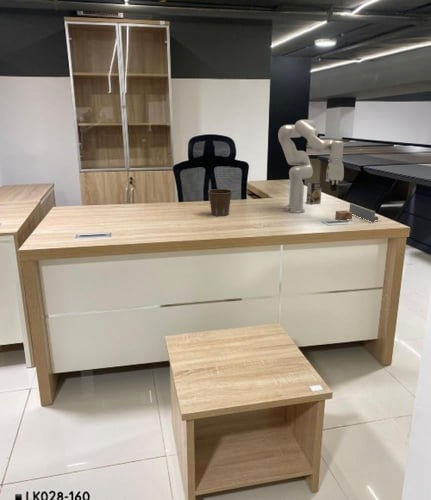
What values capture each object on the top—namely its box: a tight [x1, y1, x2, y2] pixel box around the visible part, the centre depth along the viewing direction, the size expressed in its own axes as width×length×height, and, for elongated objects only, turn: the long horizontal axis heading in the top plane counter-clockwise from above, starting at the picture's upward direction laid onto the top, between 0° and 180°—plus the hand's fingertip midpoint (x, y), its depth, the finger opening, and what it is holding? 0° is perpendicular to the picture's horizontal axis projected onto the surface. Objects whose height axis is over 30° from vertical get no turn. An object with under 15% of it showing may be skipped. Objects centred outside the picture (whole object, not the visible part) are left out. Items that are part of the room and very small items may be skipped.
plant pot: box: [207, 188, 233, 217], centre depth 288 cm, size 16×16×16 cm
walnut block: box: [334, 210, 353, 221], centre depth 276 cm, size 8×7×5 cm
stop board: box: [348, 203, 379, 223], centre depth 279 cm, size 6×26×7 cm, turn 15°
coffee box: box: [305, 181, 323, 205], centre depth 324 cm, size 9×6×16 cm
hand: (333, 190), depth 269 cm, fingers closed
